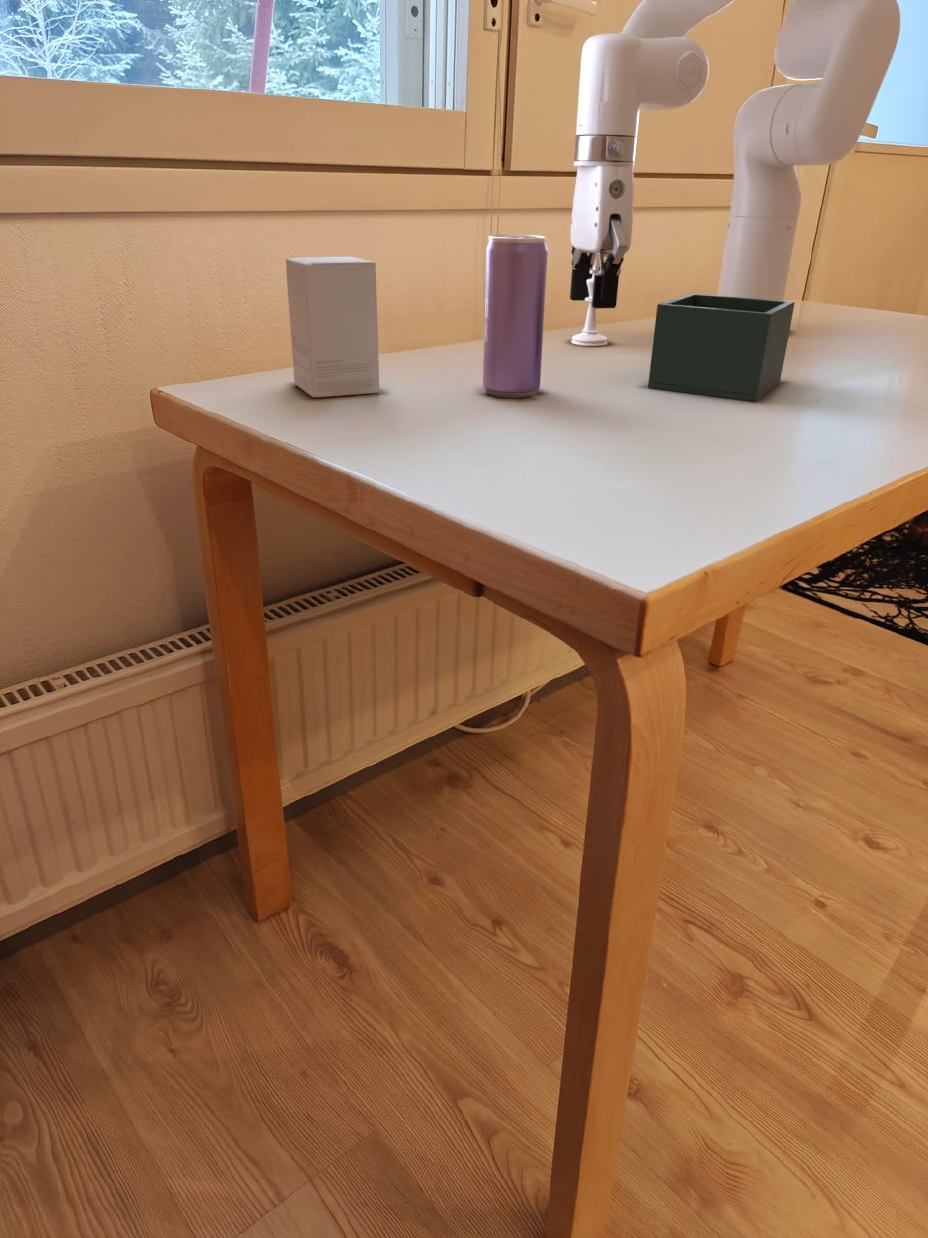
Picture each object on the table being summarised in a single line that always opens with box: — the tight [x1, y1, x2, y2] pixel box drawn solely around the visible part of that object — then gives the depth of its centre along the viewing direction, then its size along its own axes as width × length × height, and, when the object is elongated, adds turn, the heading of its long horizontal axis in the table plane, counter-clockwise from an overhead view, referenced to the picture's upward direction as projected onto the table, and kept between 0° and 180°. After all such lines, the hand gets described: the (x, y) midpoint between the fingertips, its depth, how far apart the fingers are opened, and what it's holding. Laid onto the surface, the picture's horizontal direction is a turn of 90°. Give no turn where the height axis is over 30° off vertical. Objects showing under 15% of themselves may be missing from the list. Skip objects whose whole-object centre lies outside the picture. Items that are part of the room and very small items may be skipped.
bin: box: [647, 293, 796, 403], centre depth 94 cm, size 12×12×9 cm
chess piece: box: [570, 263, 608, 347], centre depth 116 cm, size 5×5×10 cm
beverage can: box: [482, 234, 549, 399], centre depth 87 cm, size 6×6×15 cm
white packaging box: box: [285, 256, 380, 398], centre depth 88 cm, size 7×7×13 cm
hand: (592, 302), depth 116 cm, fingers open, 7 cm apart
